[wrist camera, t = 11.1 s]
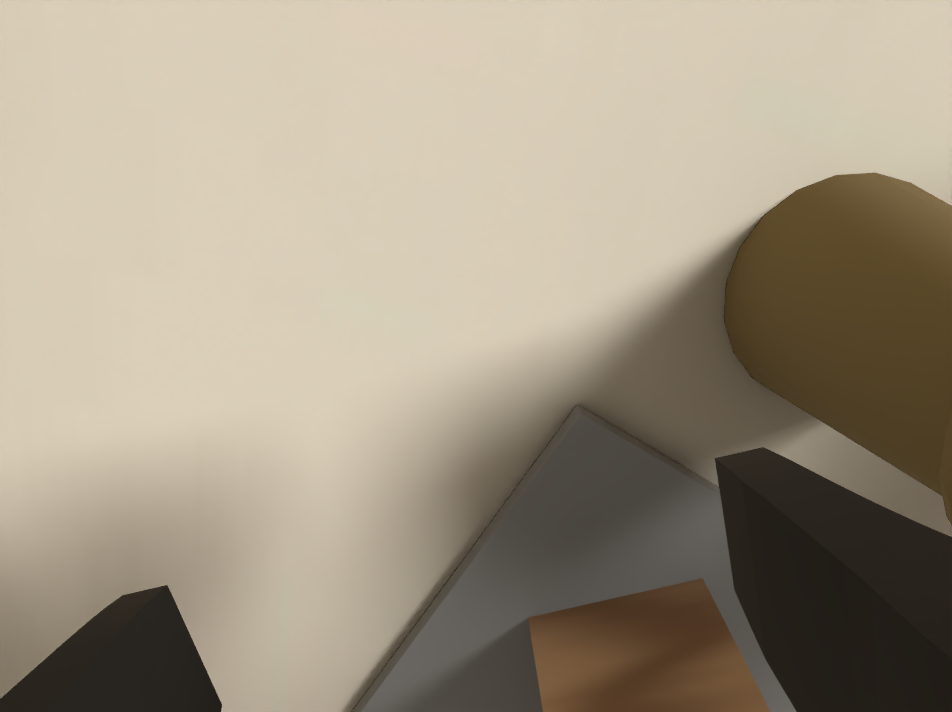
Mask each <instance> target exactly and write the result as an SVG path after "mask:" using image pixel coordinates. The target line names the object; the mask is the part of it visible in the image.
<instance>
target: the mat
mask: <svg viewBox="0 0 952 712" xmlns="http://www.w3.org/2000/svg"><path fill="white" fill-rule="evenodd" d="M701 578H703V580H704V582H705V584H706V586H707V588H708V590H709V592H710V594H711V595H712V597H713V599H714V601H715V603H716V605H717V607H718V609H719V611H720V613H721V615H722V617H723V619H724V621H725V623H726V625H727V627H728V629H729V631H730V633H731V635H732V637H733V639H734V641H735V643H736V645H737V647H738V649H739V651H740V653H741V655H742V657H743V659H744V661H745V663H746V665H747V666H748V668H749V670H750V672H751V674H752V676H753V678H754V680H755V682H756V684H757V686H758V688H759V690H760V692H761V694H762V696H763V698H764V700H765V702H766V704H767V706H768V708H769V710H770V712H796V710H795V708H794V707H793V705H792V703H791V702H790V700H789V698H788V697H787V695H786V693H785V692H784V690H783V688H782V687H781V685H780V683H779V682H778V680H777V678H776V677H775V675H774V673H773V671H772V670H771V668H770V666H769V665H768V663H767V661H766V659H765V657H764V655H763V653H762V651H761V649H760V646H759V644H758V642H757V640H756V638H755V636H754V633H753V631H752V629H751V627H750V625H749V622H748V620H747V618H746V615H745V613H744V611H743V609H742V606H741V604H740V602H739V599H738V597H737V595H736V593H735V590H734V584H733V578H732V571H731V564H730V557H729V550H728V543H727V537H726V530H725V523H724V516H723V509H722V503H721V496H720V489H719V487H717V486H715V485H714V484H712V483H710V482H709V481H707V480H705V479H704V478H702V477H700V476H698V475H697V474H695V473H693V472H692V471H690V470H688V469H686V468H685V467H683V466H681V465H680V464H678V463H676V462H675V461H673V460H671V459H669V458H668V457H666V456H664V455H663V454H661V453H659V452H657V451H656V450H654V449H652V448H651V447H649V446H647V445H646V444H644V443H642V442H640V441H639V440H637V439H635V438H634V437H632V436H630V435H629V434H627V433H625V432H623V431H622V430H620V429H618V428H617V427H615V426H613V425H611V424H610V423H608V422H606V421H605V420H603V419H601V418H600V417H598V416H596V415H594V414H593V413H591V412H589V411H588V410H586V409H584V408H582V407H581V406H579V405H576V407H575V408H574V410H573V411H572V412H571V414H570V415H569V416H568V418H567V419H566V420H565V422H564V423H563V425H562V426H561V427H560V429H559V430H558V431H557V433H556V434H555V435H554V437H553V438H552V440H551V441H550V442H549V444H548V445H547V446H546V448H545V449H544V450H543V452H542V453H541V455H540V456H539V457H538V459H537V460H536V461H535V463H534V464H533V465H532V467H531V468H530V470H529V471H528V472H527V474H526V475H525V476H524V478H523V479H522V480H521V482H520V483H519V484H518V486H517V487H516V489H515V490H514V491H513V493H512V494H511V495H510V497H509V498H508V499H507V501H506V502H505V504H504V505H503V506H502V508H501V509H500V510H499V512H498V513H497V514H496V516H495V517H494V519H493V520H492V521H491V523H490V524H489V525H488V527H487V528H486V529H485V531H484V532H483V534H482V535H481V536H480V538H479V539H478V540H477V542H476V543H475V544H474V546H473V547H472V549H471V550H470V551H469V553H468V554H467V555H466V557H465V558H464V559H463V561H462V562H461V564H460V565H459V566H458V568H457V569H456V570H455V572H454V573H453V574H452V576H451V577H450V579H449V580H448V581H447V583H446V584H445V585H444V587H443V588H442V589H441V591H440V592H439V594H438V595H437V596H436V598H435V599H434V600H433V602H432V603H431V604H430V606H429V607H428V609H427V610H426V611H425V613H424V614H423V615H422V617H421V618H420V619H419V621H418V622H417V624H416V625H415V626H414V628H413V629H412V630H411V632H410V633H409V634H408V636H407V637H406V639H405V640H404V641H403V643H402V644H401V645H400V647H399V648H398V649H397V651H396V652H395V654H394V655H393V656H392V658H391V659H390V660H389V662H388V663H387V664H386V666H385V667H384V669H383V670H382V671H381V673H380V674H379V675H378V677H377V678H376V679H375V681H374V682H373V684H372V685H371V686H370V688H369V689H368V690H367V692H366V693H365V694H364V696H363V697H362V699H361V700H360V701H359V703H358V704H357V705H356V707H355V708H354V709H353V711H352V712H543V708H542V702H541V696H540V689H539V683H538V677H537V671H536V665H535V658H534V652H533V646H532V640H531V634H530V627H529V621H528V617H532V616H537V615H541V614H546V613H550V612H555V611H559V610H564V609H568V608H572V607H577V606H581V605H586V604H590V603H595V602H599V601H604V600H608V599H612V598H617V597H621V596H626V595H630V594H635V593H639V592H644V591H648V590H652V589H657V588H661V587H666V586H670V585H675V584H679V583H684V582H688V581H692V580H697V579H701Z"/></svg>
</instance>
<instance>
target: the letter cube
mask: <svg viewBox="0 0 952 712" xmlns="http://www.w3.org/2000/svg"><path fill="white" fill-rule="evenodd" d="M528 621H529V627H530V634H531V640H532V646H533V652H534V658H535V665H536V671H537V677H538V683H539V689H540V696H541V702H542V708H543V712H770V710H769V708H768V706H767V704H766V702H765V700H764V698H763V696H762V694H761V692H760V690H759V688H758V686H757V684H756V682H755V680H754V678H753V676H752V674H751V672H750V670H749V668H748V666H747V665H746V663H745V661H744V659H743V657H742V655H741V653H740V651H739V649H738V647H737V645H736V643H735V641H734V639H733V637H732V635H731V633H730V631H729V629H728V627H727V625H726V623H725V621H724V619H723V617H722V615H721V613H720V611H719V609H718V607H717V605H716V603H715V601H714V599H713V597H712V595H711V594H710V592H709V590H708V588H707V586H706V584H705V582H704V580H703V578H701V579H697V580H692V581H688V582H684V583H679V584H675V585H670V586H666V587H661V588H657V589H652V590H648V591H644V592H639V593H635V594H630V595H626V596H621V597H617V598H612V599H608V600H604V601H599V602H595V603H590V604H586V605H581V606H577V607H572V608H568V609H564V610H559V611H555V612H550V613H546V614H541V615H537V616H532V617H528Z"/></svg>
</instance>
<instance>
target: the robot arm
mask: <svg viewBox="0 0 952 712" xmlns="http://www.w3.org/2000/svg"><path fill="white" fill-rule="evenodd" d="M715 462H716V469H717V475H718V482H719V489H720V496H721V503H722V509H723V516H724V523H725V530H726V537H727V543H728V550H729V557H730V564H731V571H732V578H733V584H734V590H735V593H736V595H737V597H738V599H739V602H740V604H741V606H742V609H743V611H744V613H745V615H746V618H747V620H748V622H749V625H750V627H751V629H752V631H753V633H754V636H755V638H756V640H757V642H758V644H759V646H760V649H761V651H762V653H763V655H764V657H765V659H766V661H767V663H768V665H769V666H770V668H771V670H772V671H773V673H774V675H775V677H776V678H777V680H778V682H779V683H780V685H781V687H782V688H783V690H784V692H785V693H786V695H787V697H788V698H789V700H790V702H791V703H792V705H793V707H794V708H795V710H796V712H952V537H950V536H948V535H945V534H943V533H940V532H938V531H936V530H933V529H931V528H929V527H926V526H924V525H922V524H920V523H917V522H915V521H913V520H911V519H908V518H906V517H904V516H902V515H900V514H898V513H895V512H893V511H891V510H889V509H887V508H885V507H883V506H881V505H878V504H876V503H874V502H872V501H870V500H868V499H866V498H864V497H862V496H860V495H858V494H856V493H854V492H852V491H850V490H848V489H846V488H844V487H842V486H840V485H838V484H836V483H834V482H832V481H830V480H828V479H826V478H824V477H822V476H820V475H818V474H816V473H814V472H812V471H810V470H808V469H806V468H804V467H802V466H800V465H798V464H796V463H795V462H793V461H791V460H789V459H787V458H785V457H783V456H781V455H779V454H776V453H774V452H772V451H770V450H768V449H766V448H758V449H754V450H750V451H745V452H741V453H737V454H732V455H728V456H724V457H719V458H715ZM221 708H222V704H221V702H220V700H219V697H218V695H217V693H216V691H215V689H214V686H213V684H212V682H211V680H210V678H209V675H208V673H207V671H206V669H205V667H204V664H203V662H202V660H201V658H200V656H199V654H198V651H197V649H196V647H195V645H194V643H193V640H192V638H191V636H190V634H189V632H188V629H187V627H186V625H185V623H184V621H183V618H182V616H181V614H180V612H179V610H178V608H177V605H176V603H175V601H174V599H173V597H172V594H171V592H170V590H169V588H168V586H167V585H166V586H161V587H157V588H153V589H148V590H144V591H140V592H135V593H131V594H127V595H123V596H121V597H120V598H118V599H117V600H116V601H114V602H113V603H111V604H110V605H109V606H107V607H106V608H105V609H103V610H102V611H101V612H100V613H98V614H97V615H96V616H95V617H94V618H92V619H91V620H90V621H89V622H87V623H86V624H85V625H84V626H83V627H82V628H80V629H79V630H78V631H77V632H76V633H75V634H73V635H72V636H71V637H70V638H69V639H68V640H67V641H65V642H64V643H63V644H62V645H61V646H60V647H59V648H57V649H56V650H55V651H54V652H53V653H52V654H51V655H50V656H48V657H47V658H46V659H45V660H44V661H43V662H42V663H40V664H39V665H38V666H37V667H36V668H35V669H34V670H33V671H31V672H30V673H29V674H28V675H27V676H26V677H25V678H24V679H22V680H21V681H20V682H19V683H18V684H17V685H16V686H14V687H13V688H12V689H11V690H10V691H9V692H8V693H7V694H5V695H4V696H3V697H2V698H1V699H0V712H221Z"/></svg>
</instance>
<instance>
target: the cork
mask: <svg viewBox="0 0 952 712" xmlns="http://www.w3.org/2000/svg"><path fill="white" fill-rule="evenodd" d="M724 321H725V325H726V328H727V332H728V335H729V339H730V342H731V346H732V349H733V352H734V354H735V355H736V356H737V358H738V359H739V360H740V362H741V363H742V364H743V366H744V367H745V368H746V370H747V371H748V373H749V374H750V375H751V377H752V378H753V379H755V380H757V381H758V382H760V383H761V384H763V385H764V386H766V387H767V388H769V389H770V390H772V391H774V392H775V393H777V394H778V395H780V396H781V397H783V398H785V399H786V400H788V401H789V402H791V403H793V404H794V405H796V406H798V407H799V408H801V409H802V410H804V411H806V412H807V413H809V414H811V415H812V416H814V417H815V418H817V419H819V420H820V421H822V422H823V423H825V424H827V425H828V426H830V427H832V428H833V429H835V430H836V431H838V432H840V433H841V434H843V435H845V436H846V437H848V438H849V439H851V440H853V441H854V442H856V443H857V444H859V445H861V446H862V447H864V448H866V449H867V450H869V451H870V452H872V453H874V454H875V455H877V456H878V457H880V458H882V459H883V460H885V461H887V462H888V463H890V464H891V465H893V466H895V467H896V468H898V469H900V470H901V471H903V472H904V473H906V474H908V475H909V476H911V477H912V478H914V479H916V480H917V481H919V482H921V483H922V484H924V485H925V486H927V487H929V488H930V489H932V490H934V491H935V492H937V493H938V494H940V495H942V496H943V500H944V505H945V510H946V515H947V517H948V519H949V521H950V523H951V524H952V206H951V205H949V204H947V203H945V202H944V201H942V200H940V199H938V198H937V197H935V196H933V195H931V194H929V193H928V192H926V191H924V190H922V189H921V188H919V187H917V186H915V185H913V184H912V183H909V182H906V181H902V180H899V179H895V178H892V177H888V176H885V175H881V174H878V173H865V174H849V175H836V176H833V177H830V178H828V179H825V180H823V181H820V182H817V183H815V184H812V185H809V186H807V187H804V188H801V189H799V190H797V191H796V192H794V193H793V194H792V195H790V196H789V197H788V198H786V199H785V200H784V201H782V202H781V203H780V204H779V205H777V206H776V207H775V208H773V209H772V210H771V211H769V212H768V213H767V214H765V215H764V216H763V218H762V219H761V220H760V222H759V223H758V224H757V226H756V227H755V228H754V230H753V231H752V232H751V234H750V235H749V236H748V237H747V239H746V240H745V241H744V243H743V244H742V245H741V247H740V249H739V251H738V254H737V256H736V259H735V262H734V264H733V267H732V269H731V272H730V275H729V277H728V280H727V282H726V294H725V311H724Z"/></svg>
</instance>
